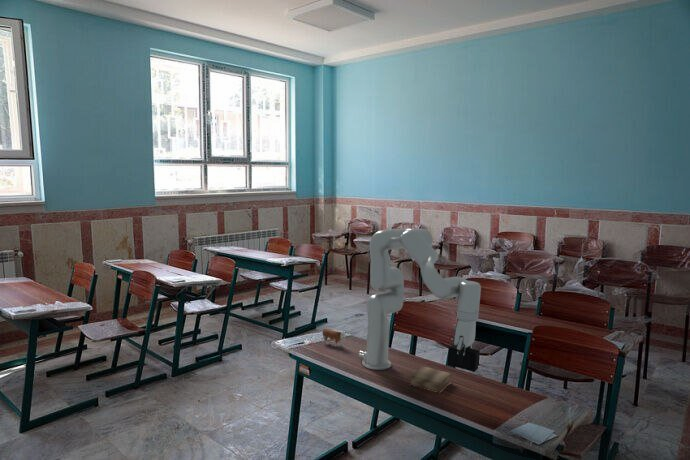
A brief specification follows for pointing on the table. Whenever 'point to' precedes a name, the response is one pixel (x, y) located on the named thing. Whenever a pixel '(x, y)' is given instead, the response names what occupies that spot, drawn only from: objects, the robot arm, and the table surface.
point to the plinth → (430, 379)
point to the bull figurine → (333, 336)
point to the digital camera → (471, 358)
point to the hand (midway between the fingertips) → (463, 362)
